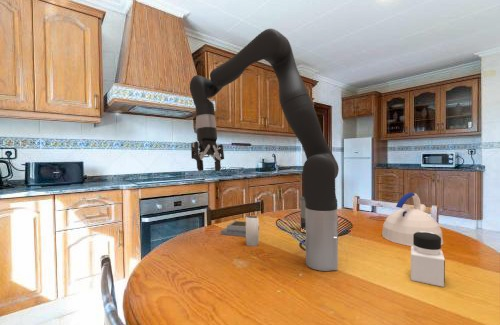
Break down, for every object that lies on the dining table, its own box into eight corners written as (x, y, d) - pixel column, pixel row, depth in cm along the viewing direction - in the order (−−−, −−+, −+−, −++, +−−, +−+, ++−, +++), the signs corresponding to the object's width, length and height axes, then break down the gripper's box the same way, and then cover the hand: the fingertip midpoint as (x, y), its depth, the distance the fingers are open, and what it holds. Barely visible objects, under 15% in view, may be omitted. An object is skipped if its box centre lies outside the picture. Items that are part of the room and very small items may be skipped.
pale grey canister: (260, 242, 99) (260, 215, 98) (256, 246, 94) (256, 218, 94) (248, 241, 100) (248, 214, 100) (244, 245, 96) (243, 217, 95)
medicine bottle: (444, 287, 64) (445, 239, 63) (410, 280, 68) (410, 235, 67) (442, 276, 70) (442, 232, 69) (410, 270, 74) (411, 228, 73)
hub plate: (259, 229, 116) (259, 221, 116) (250, 237, 105) (249, 228, 105) (232, 226, 121) (232, 219, 121) (221, 234, 109) (221, 226, 109)
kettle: (452, 240, 99) (453, 193, 98) (429, 252, 87) (429, 198, 86) (397, 228, 115) (397, 187, 115) (371, 237, 104) (371, 192, 103)
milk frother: (296, 232, 111) (296, 198, 110) (310, 224, 124) (310, 193, 123) (329, 238, 103) (329, 201, 102) (340, 228, 116) (340, 195, 115)
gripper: (198, 123, 90) (201, 169, 89) (226, 128, 102) (230, 169, 100) (184, 128, 95) (187, 172, 93) (213, 132, 106) (216, 171, 104)
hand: (209, 170), depth 97 cm, fingers open, 8 cm apart
